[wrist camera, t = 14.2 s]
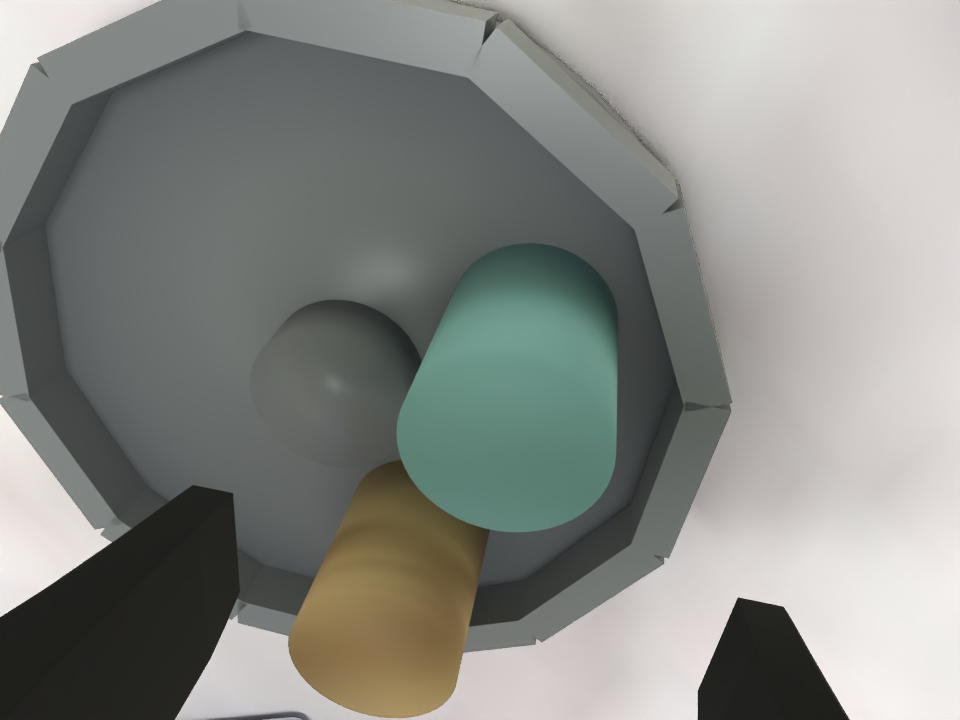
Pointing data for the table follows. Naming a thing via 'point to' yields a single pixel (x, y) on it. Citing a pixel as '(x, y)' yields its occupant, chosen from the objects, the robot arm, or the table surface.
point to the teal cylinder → (517, 393)
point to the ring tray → (329, 278)
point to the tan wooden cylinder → (390, 601)
